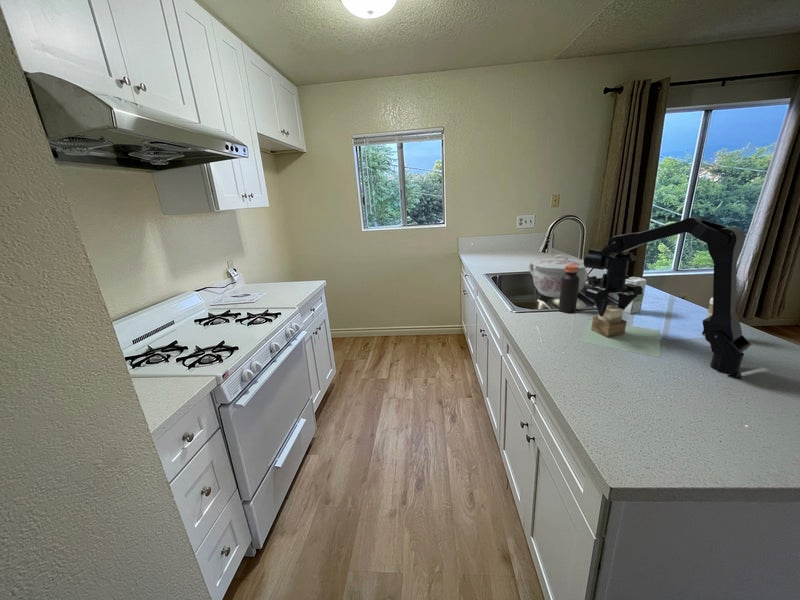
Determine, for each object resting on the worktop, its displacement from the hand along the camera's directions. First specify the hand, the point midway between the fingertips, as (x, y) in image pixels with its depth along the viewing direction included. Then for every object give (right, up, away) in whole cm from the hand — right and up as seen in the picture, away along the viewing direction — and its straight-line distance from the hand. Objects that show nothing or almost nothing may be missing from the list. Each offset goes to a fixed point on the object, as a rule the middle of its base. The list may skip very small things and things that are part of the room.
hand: (610, 314), depth 113 cm
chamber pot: (+6, +8, +50) cm, 51 cm away
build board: (+3, -8, -1) cm, 9 cm away
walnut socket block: (0, -7, +2) cm, 7 cm away
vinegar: (-1, 0, +27) cm, 27 cm away
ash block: (0, -2, +1) cm, 2 cm away
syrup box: (+23, 0, +23) cm, 32 cm away
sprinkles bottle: (+33, -7, -3) cm, 34 cm away
